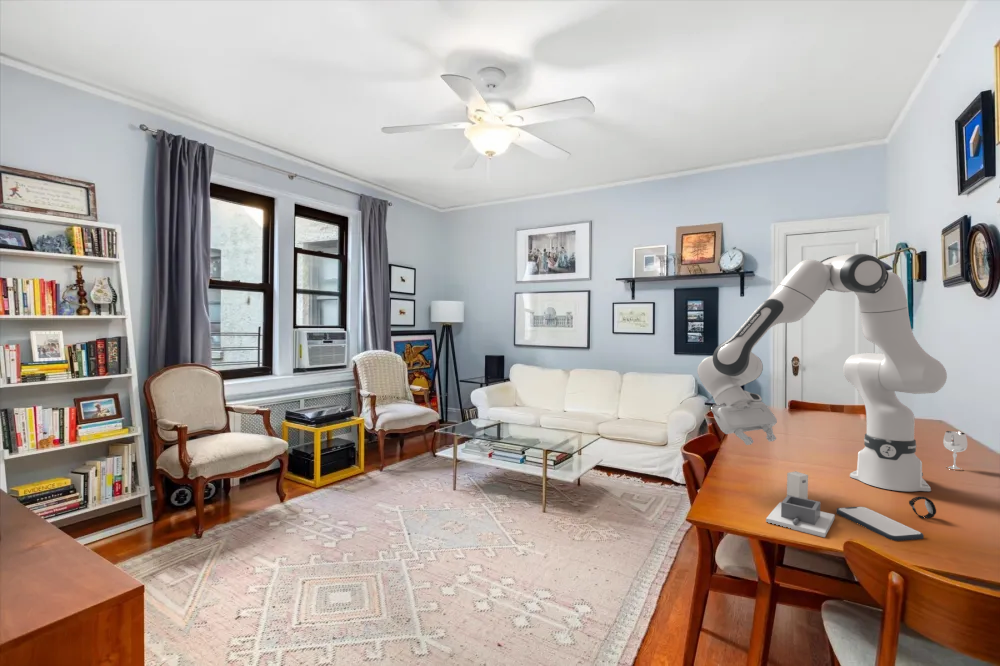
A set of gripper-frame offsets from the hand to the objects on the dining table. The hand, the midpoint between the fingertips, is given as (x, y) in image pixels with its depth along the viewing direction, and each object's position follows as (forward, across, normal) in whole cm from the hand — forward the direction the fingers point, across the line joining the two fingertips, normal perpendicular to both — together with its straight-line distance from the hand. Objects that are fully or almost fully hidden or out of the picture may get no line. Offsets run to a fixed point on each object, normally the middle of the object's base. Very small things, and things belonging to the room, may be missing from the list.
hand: (761, 442), depth 139 cm
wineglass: (+19, +76, +1) cm, 78 cm away
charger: (+18, 0, +2) cm, 18 cm away
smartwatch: (+31, +20, -11) cm, 38 cm away
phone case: (+30, +4, -9) cm, 32 cm away
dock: (+23, -10, -3) cm, 25 cm away
